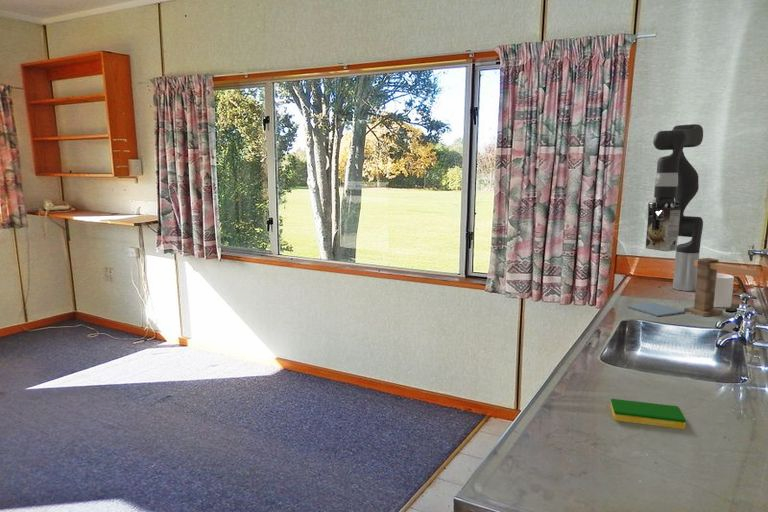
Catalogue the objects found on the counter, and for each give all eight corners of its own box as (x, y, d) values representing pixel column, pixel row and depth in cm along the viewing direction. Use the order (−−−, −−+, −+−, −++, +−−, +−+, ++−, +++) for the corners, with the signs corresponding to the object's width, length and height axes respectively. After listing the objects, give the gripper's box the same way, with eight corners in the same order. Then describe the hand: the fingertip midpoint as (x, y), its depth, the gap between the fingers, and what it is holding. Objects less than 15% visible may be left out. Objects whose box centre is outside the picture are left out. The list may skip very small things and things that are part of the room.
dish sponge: (610, 407, 119) (610, 398, 119) (677, 415, 115) (678, 405, 115) (613, 422, 113) (614, 411, 112) (685, 431, 109) (686, 420, 108)
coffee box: (644, 248, 200) (647, 206, 197) (656, 247, 202) (659, 206, 200) (666, 251, 191) (669, 208, 189) (677, 250, 194) (681, 207, 191)
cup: (721, 301, 214) (724, 272, 212) (737, 308, 203) (740, 278, 201) (691, 300, 215) (694, 272, 213) (705, 307, 204) (708, 278, 202)
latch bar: (699, 265, 199) (700, 260, 199) (758, 275, 179) (758, 269, 178) (694, 265, 198) (694, 260, 198) (752, 276, 178) (753, 270, 177)
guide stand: (702, 308, 203) (707, 256, 199) (722, 313, 195) (727, 260, 192) (684, 311, 199) (689, 258, 196) (703, 316, 192) (708, 261, 188)
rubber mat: (654, 304, 209) (654, 302, 209) (685, 312, 197) (685, 311, 196) (627, 307, 205) (627, 306, 204) (657, 316, 192) (657, 315, 192)
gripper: (660, 185, 187) (656, 231, 190) (689, 185, 192) (685, 229, 195) (643, 185, 194) (640, 229, 196) (671, 184, 199) (668, 227, 202)
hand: (662, 229), depth 196 cm, fingers closed on coffee box, 6 cm apart
